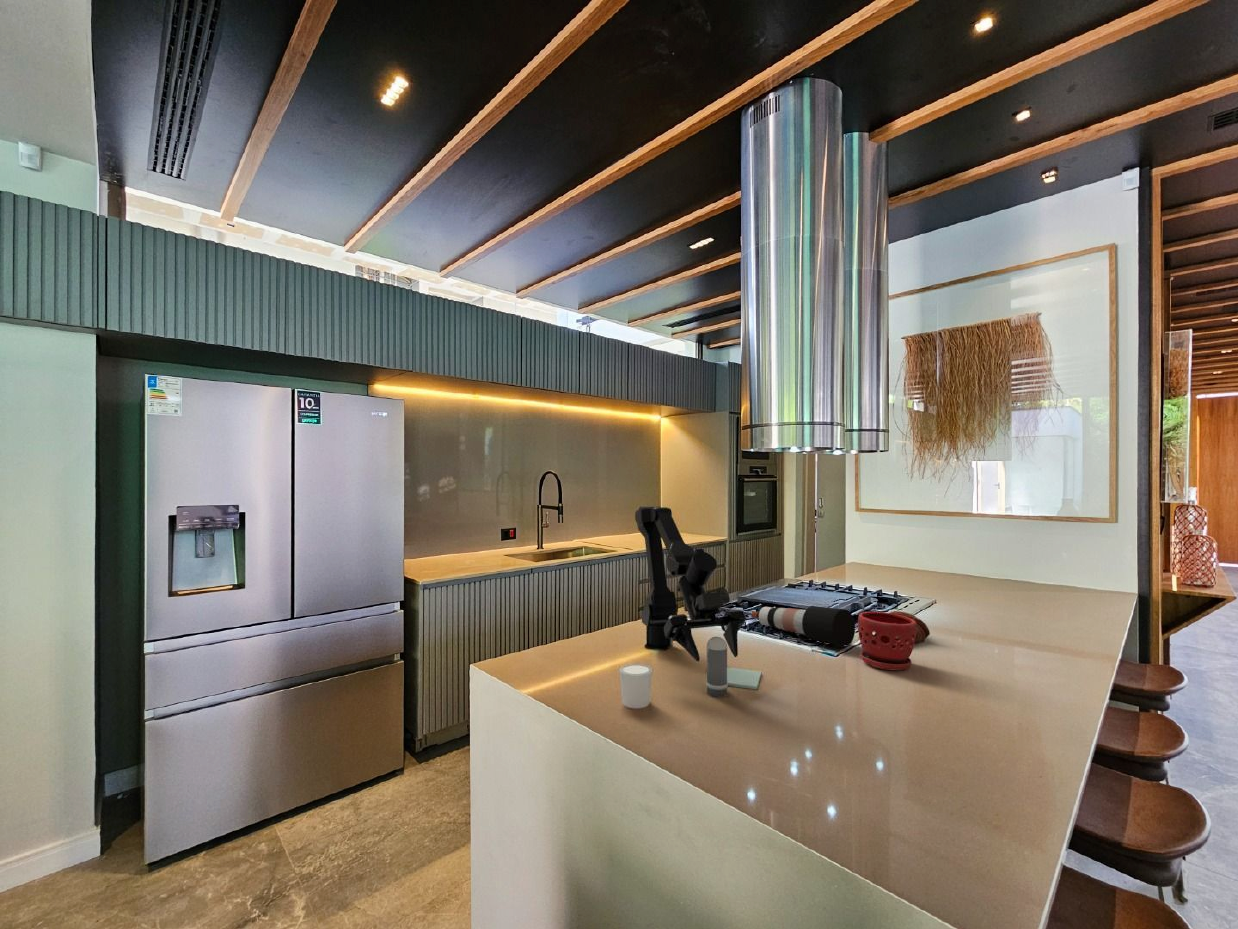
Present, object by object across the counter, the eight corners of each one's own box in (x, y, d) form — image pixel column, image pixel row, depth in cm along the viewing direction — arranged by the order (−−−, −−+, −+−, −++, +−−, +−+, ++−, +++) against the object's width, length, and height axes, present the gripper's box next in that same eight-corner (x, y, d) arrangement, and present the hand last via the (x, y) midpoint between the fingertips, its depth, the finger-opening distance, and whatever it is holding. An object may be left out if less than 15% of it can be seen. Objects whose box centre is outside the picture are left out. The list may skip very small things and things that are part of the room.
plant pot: (903, 678, 128) (903, 627, 128) (849, 663, 138) (848, 616, 138) (924, 665, 136) (924, 617, 137) (872, 652, 146) (871, 607, 146)
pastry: (861, 631, 167) (861, 605, 167) (908, 629, 169) (907, 603, 169) (895, 648, 150) (895, 619, 150) (946, 646, 152) (946, 618, 152)
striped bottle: (759, 634, 178) (766, 605, 181) (851, 651, 150) (858, 616, 153) (738, 624, 173) (746, 594, 177) (829, 640, 145) (836, 603, 149)
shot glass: (656, 698, 116) (656, 665, 116) (647, 711, 109) (647, 676, 110) (625, 694, 118) (625, 662, 118) (615, 707, 112) (615, 672, 112)
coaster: (712, 683, 124) (712, 680, 124) (719, 668, 134) (719, 666, 134) (756, 689, 121) (756, 686, 121) (761, 674, 130) (761, 671, 130)
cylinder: (704, 695, 117) (704, 638, 118) (708, 687, 122) (708, 633, 122) (725, 698, 116) (725, 641, 116) (729, 690, 120) (729, 635, 120)
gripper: (668, 579, 121) (689, 643, 111) (742, 574, 127) (769, 635, 116) (655, 607, 129) (674, 669, 118) (725, 601, 134) (750, 660, 123)
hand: (717, 658), depth 119 cm, fingers open, 9 cm apart
